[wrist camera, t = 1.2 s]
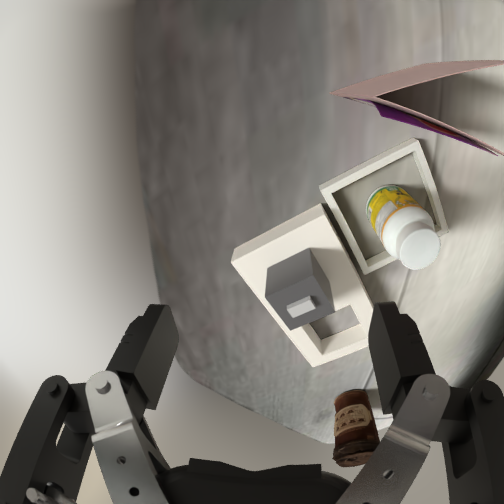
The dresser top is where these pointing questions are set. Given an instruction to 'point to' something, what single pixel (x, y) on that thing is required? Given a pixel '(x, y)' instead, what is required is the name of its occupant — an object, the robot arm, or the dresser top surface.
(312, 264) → the white holder base
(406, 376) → the robot arm
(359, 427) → the coffee cup
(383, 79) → the greeting card
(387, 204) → the supplement bottle
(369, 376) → the dresser top surface
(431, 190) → the tray
